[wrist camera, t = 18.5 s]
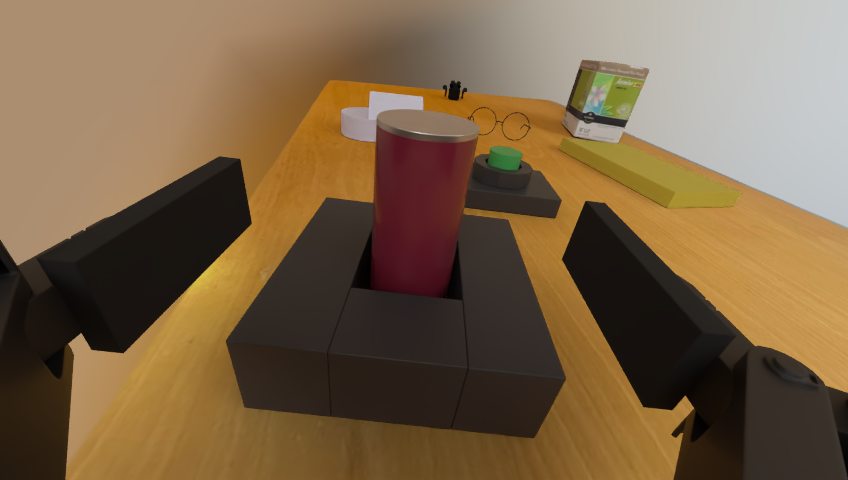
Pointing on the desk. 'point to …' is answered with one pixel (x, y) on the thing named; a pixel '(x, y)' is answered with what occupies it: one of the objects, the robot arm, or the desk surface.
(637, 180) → the flat olive board
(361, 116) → the wedge on round base
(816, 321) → the desk surface
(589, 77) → the tea box
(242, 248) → the desk surface
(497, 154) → the button
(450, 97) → the wireless earbuds
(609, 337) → the robot arm
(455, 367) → the square peg hole block
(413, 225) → the dark red cylinder
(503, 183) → the panel
